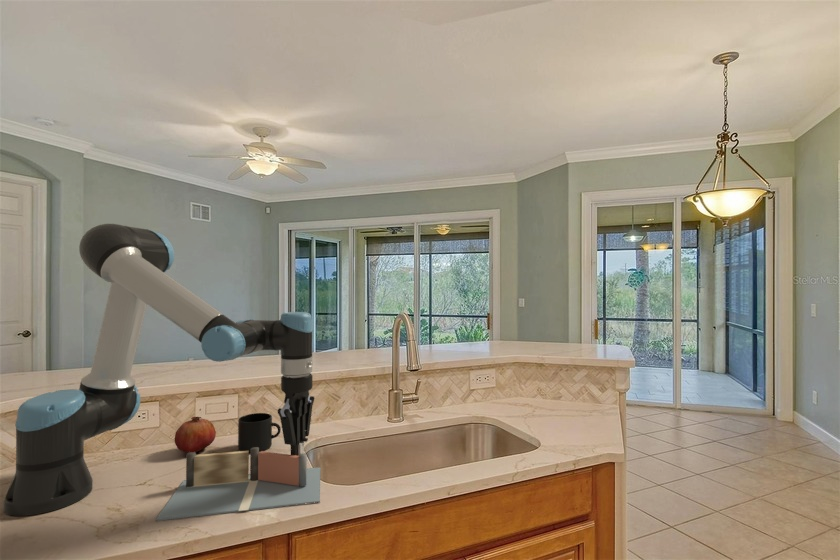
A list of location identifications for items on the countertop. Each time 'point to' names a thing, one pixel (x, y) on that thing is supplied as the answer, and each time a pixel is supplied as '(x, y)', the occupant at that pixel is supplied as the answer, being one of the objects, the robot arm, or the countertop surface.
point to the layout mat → (239, 497)
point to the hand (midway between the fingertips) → (297, 468)
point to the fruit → (195, 435)
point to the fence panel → (282, 468)
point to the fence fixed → (221, 467)
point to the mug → (256, 431)
